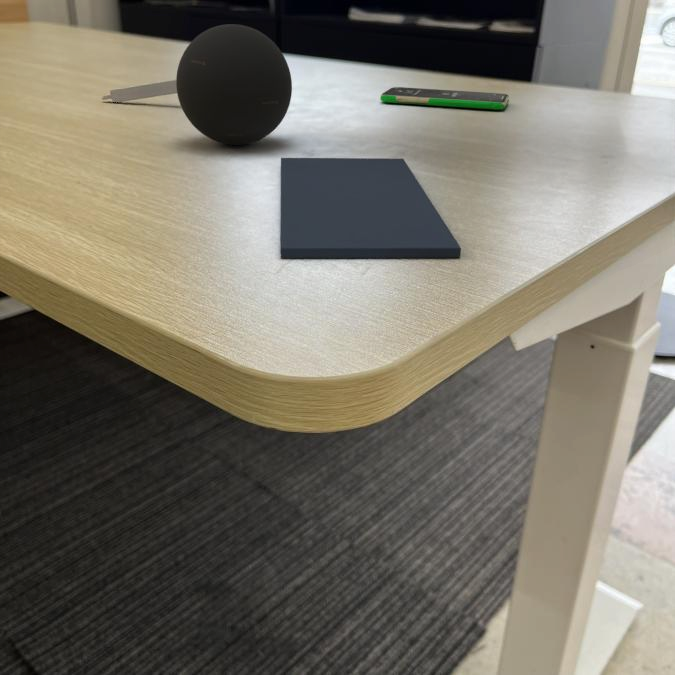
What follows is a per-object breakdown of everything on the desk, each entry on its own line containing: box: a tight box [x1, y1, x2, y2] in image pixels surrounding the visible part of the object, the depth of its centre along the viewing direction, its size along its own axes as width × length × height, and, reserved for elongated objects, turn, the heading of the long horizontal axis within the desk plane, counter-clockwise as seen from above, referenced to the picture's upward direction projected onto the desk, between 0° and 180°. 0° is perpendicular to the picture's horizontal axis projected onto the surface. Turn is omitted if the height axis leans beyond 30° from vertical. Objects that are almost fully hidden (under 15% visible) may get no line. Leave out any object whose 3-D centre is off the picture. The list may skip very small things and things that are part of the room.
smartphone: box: [379, 86, 510, 111], centre depth 91 cm, size 8×1×15 cm
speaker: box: [175, 23, 293, 146], centre depth 65 cm, size 10×10×10 cm
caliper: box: [101, 79, 177, 104], centre depth 84 cm, size 20×1×6 cm, turn 76°
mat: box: [279, 157, 462, 259], centre depth 51 cm, size 10×22×1 cm, turn 4°
